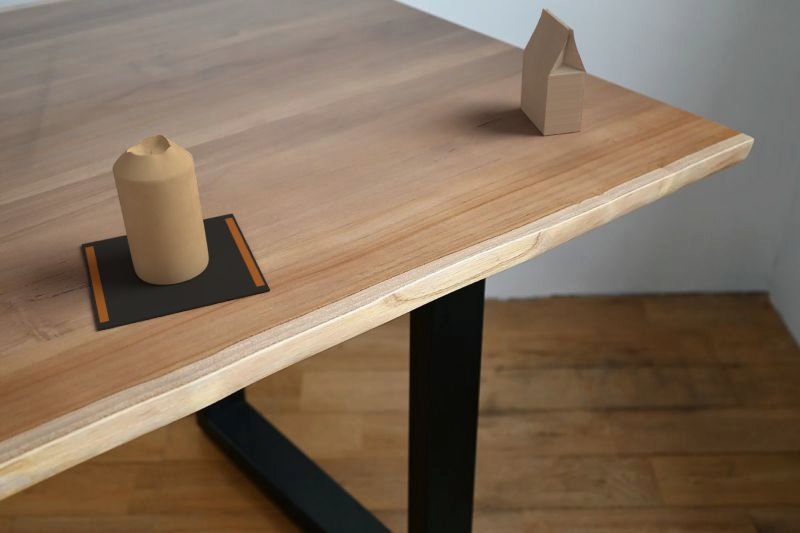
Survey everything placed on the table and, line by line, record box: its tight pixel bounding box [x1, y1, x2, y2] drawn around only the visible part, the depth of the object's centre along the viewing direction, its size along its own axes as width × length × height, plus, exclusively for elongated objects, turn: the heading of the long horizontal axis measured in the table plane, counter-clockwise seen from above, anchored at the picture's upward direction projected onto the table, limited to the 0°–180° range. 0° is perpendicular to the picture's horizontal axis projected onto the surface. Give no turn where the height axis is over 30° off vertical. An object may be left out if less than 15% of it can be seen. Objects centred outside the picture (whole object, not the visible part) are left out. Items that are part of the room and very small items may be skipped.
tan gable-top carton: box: [519, 7, 587, 136], centre depth 87 cm, size 4×7×10 cm, turn 13°
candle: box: [112, 134, 209, 285], centre depth 65 cm, size 6×6×10 cm
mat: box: [81, 213, 271, 332], centre depth 68 cm, size 12×12×1 cm
